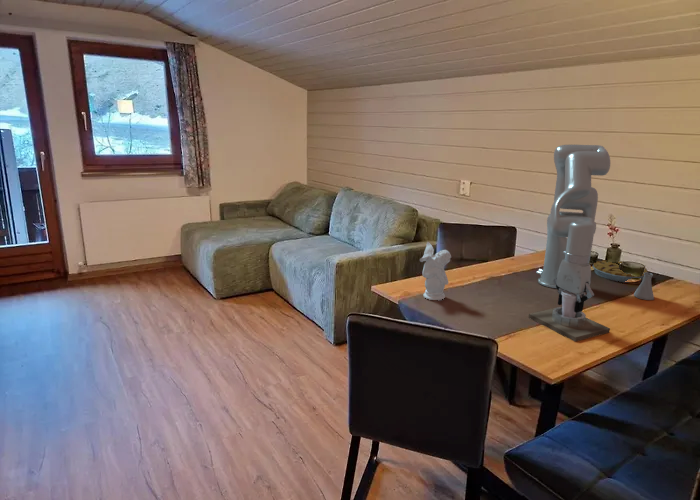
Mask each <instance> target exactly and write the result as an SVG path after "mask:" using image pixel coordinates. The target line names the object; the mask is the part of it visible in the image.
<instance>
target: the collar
mask: <svg viewBox="0 0 700 500" xmlns="http://www.w3.org/2000/svg"><path fill="white" fill-rule="evenodd" d="M585 317H586V313H585V312H584V311H582V312H577V313H576V314H575V318H570V317H565V316H562V306H558V308H557V307H554V310H553V314H552V319H553V321H554V322H556V323H558V324H560V325H563V326H567V327H581V326H583V325H584V323H585ZM586 318H587V317H586Z"/></svg>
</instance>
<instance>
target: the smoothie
mask: <svg viewBox="0 0 700 500" xmlns="http://www.w3.org/2000/svg"><path fill="white" fill-rule="evenodd" d="M561 295H562V305H561V307H562V316H565V317H570V318H575V314H576V312H574V309H575V303H576V301H578V300H577V295H576V294H574V293H572V292H569V291H567V290H562V292H561ZM581 297H582V296H581Z"/></svg>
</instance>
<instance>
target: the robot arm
mask: <svg viewBox="0 0 700 500" xmlns="http://www.w3.org/2000/svg"><path fill="white" fill-rule="evenodd" d="M553 162H554V166H555V169H556V180H555V181H556V182H555V189H554V197H553V203H552V205H551V209H550V213H549V214H548V216H547V219H546V227H547V228H546V229H547V230H546V231H547V236H546V237H547V238H546V243H545V244H546V245H545V254H544V261H543V268H539V269H538V270H537V271H536V274H538V275H540V277H538V279H537V282H538V284H539V285H542V286H543V287H548V288H552V289H556V290H557V294H558V299H557V305H558V306H562V295H561V292H562V290H567V291H569V292H572V293H574V294H576V295H577V300H578V301H576V303H575V309H574V312H576V313H577V312H583V310H584V306H585V302H586V301H587V300H589V299H591V298H592V297H594V296H595V293H594V291H593V290H592V288H591V278H592V266H591V264H590V261H591V255H592V249H593V243H594V237H595V233H596V231H597V223H596V222H595V219H596V214H597V209H598V201H599V194H598V190H597V189H596V188H595V187H593V186H592V176H605V175H607V174H608V173H609V171H610V169H611V157H610V154H609V152H608V150H607V149H606V148H605V147H604V146H603V145H598V144H562V145H558V146H557V147H555V149H554V152H553ZM561 209H562V210H563V211H560V210H561ZM564 210H573V211H577V210H579V211H582V212H579V211H578V212H573V211H564ZM581 296H582V297H581Z"/></svg>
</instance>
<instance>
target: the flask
mask: <svg viewBox="0 0 700 500" xmlns="http://www.w3.org/2000/svg"><path fill="white" fill-rule="evenodd" d="M653 276H654V274H653V273H651V272H648V273H644V278H643V280H641V281H640V284H639V286H637V288H636V289H635V292H634V293H633V296H634V297H635V298H637V299H640V300H646V301H654V300H655V295H654V291H653V287H652V277H653Z"/></svg>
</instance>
